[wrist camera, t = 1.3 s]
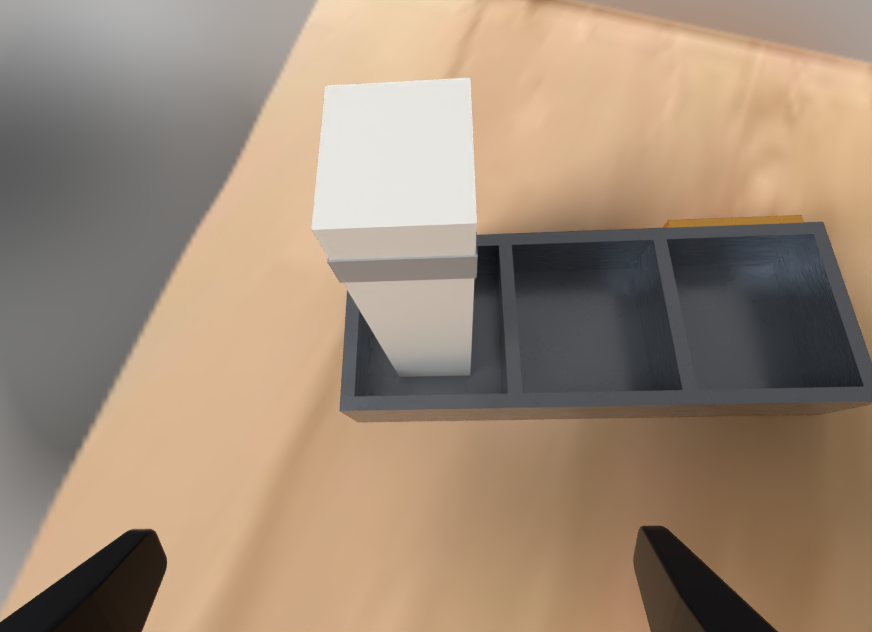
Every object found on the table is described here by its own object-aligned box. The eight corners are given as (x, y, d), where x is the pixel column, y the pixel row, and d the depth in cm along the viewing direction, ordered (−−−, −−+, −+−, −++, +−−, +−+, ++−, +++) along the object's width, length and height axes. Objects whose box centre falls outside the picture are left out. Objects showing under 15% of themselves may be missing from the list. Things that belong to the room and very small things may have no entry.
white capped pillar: (471, 376, 23) (479, 225, 10) (398, 377, 23) (308, 232, 10) (468, 299, 24) (472, 75, 11) (400, 301, 24) (323, 84, 11)
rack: (772, 251, 25) (820, 214, 21) (819, 414, 22) (885, 401, 18) (365, 265, 26) (350, 232, 22) (358, 422, 23) (339, 410, 20)
